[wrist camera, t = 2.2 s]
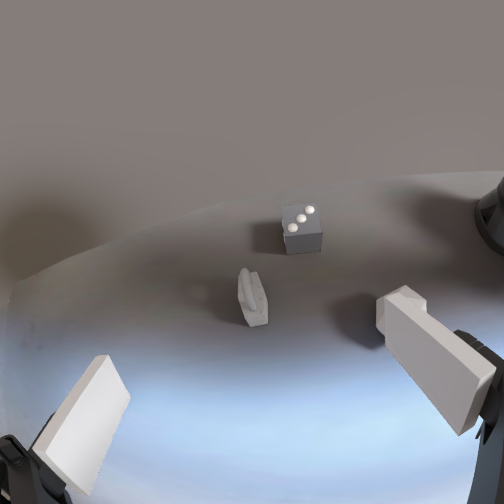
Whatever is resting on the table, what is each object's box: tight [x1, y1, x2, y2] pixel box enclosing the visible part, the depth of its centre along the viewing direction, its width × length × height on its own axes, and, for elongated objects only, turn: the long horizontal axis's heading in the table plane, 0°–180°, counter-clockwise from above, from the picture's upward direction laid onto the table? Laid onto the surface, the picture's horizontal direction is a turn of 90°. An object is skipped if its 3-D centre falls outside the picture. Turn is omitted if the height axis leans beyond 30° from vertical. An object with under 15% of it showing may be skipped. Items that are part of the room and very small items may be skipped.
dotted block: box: [281, 203, 323, 255], centre depth 47 cm, size 6×6×6 cm
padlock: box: [238, 268, 268, 327], centre depth 41 cm, size 7×4×10 cm, turn 9°
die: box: [376, 285, 426, 336], centre depth 36 cm, size 8×9×10 cm
